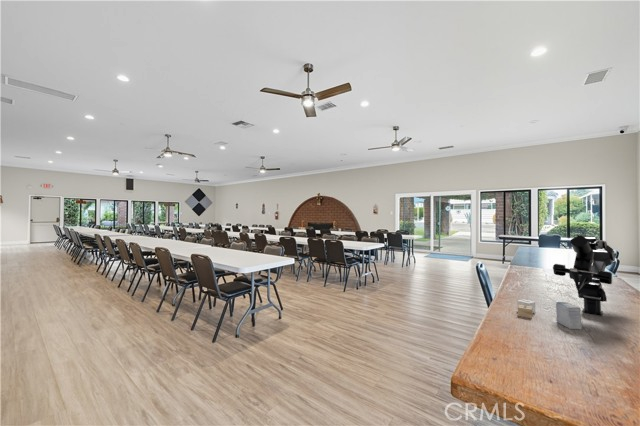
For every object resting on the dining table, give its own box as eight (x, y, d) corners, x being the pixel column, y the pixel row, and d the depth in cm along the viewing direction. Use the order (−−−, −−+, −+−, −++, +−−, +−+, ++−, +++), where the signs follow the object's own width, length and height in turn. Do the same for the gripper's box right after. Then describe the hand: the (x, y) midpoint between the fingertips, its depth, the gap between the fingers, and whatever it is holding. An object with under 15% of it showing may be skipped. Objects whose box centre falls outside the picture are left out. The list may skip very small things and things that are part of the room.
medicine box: (582, 330, 109) (581, 307, 109) (568, 329, 110) (568, 307, 110) (568, 322, 117) (567, 302, 117) (556, 322, 118) (555, 301, 118)
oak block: (519, 313, 129) (518, 304, 130) (532, 315, 126) (532, 306, 126) (518, 316, 126) (517, 307, 126) (531, 318, 122) (531, 309, 123)
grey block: (523, 309, 135) (523, 299, 135) (535, 312, 130) (535, 301, 130) (517, 311, 132) (517, 300, 133) (529, 314, 128) (529, 303, 128)
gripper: (614, 274, 122) (609, 305, 116) (558, 266, 136) (552, 293, 130) (613, 260, 116) (609, 291, 110) (556, 252, 130) (549, 280, 124)
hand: (577, 289), depth 119 cm, fingers closed
